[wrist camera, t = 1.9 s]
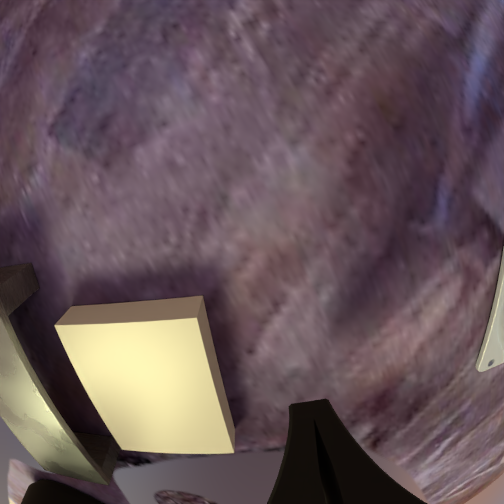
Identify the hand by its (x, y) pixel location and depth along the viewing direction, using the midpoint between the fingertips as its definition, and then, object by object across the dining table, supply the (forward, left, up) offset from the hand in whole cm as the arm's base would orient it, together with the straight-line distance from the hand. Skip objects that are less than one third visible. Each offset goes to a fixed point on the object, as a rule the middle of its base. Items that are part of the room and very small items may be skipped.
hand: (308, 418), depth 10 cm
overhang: (+13, 0, -3) cm, 14 cm away
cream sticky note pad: (+6, 0, -3) cm, 7 cm away
